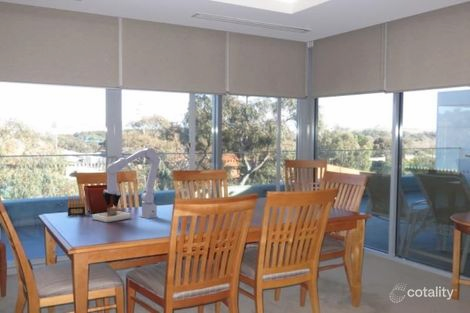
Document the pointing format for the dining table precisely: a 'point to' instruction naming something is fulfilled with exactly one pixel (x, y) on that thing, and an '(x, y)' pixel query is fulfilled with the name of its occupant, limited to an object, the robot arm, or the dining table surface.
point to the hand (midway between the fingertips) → (111, 205)
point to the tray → (111, 217)
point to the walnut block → (111, 211)
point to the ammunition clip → (72, 207)
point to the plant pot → (97, 198)
